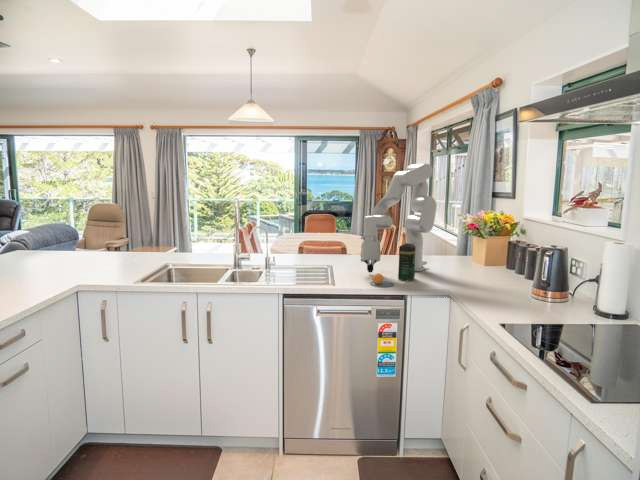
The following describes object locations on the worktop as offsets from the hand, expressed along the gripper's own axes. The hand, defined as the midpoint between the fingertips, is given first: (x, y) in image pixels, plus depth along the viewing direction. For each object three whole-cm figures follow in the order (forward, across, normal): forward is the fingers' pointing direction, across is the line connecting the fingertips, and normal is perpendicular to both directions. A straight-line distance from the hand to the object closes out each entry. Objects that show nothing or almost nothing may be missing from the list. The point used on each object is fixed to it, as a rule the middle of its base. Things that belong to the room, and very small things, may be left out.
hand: (370, 271), depth 223 cm
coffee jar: (+2, +16, -13) cm, 21 cm away
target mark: (+2, 0, -22) cm, 22 cm away
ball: (-1, -2, -22) cm, 23 cm away
